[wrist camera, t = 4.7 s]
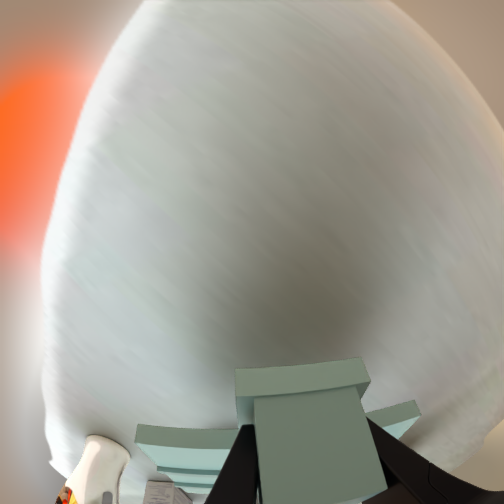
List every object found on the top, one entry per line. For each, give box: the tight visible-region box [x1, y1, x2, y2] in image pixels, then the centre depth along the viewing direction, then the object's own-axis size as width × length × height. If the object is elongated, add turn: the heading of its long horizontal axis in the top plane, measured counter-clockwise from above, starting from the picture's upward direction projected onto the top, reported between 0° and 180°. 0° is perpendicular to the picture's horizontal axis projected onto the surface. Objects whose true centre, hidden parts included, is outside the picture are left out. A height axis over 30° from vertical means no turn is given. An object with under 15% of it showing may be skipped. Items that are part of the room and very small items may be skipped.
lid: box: [135, 357, 421, 504], centre depth 10 cm, size 13×17×4 cm
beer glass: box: [55, 435, 130, 504], centre depth 17 cm, size 7×7×15 cm
